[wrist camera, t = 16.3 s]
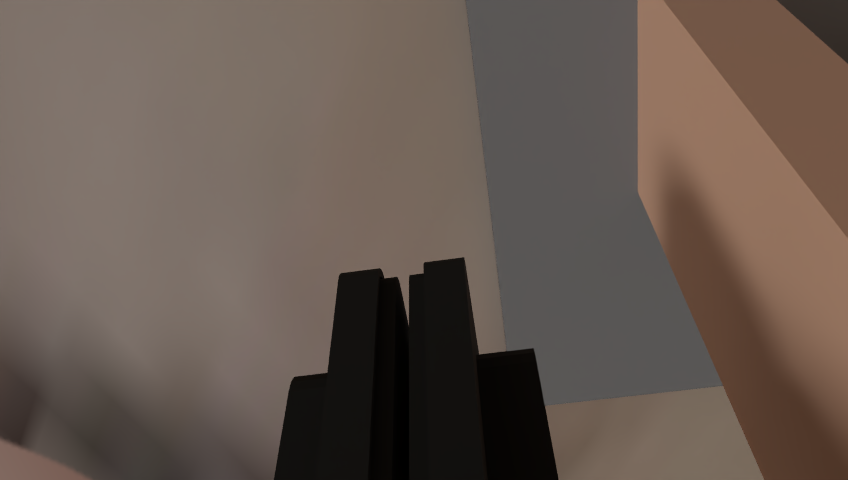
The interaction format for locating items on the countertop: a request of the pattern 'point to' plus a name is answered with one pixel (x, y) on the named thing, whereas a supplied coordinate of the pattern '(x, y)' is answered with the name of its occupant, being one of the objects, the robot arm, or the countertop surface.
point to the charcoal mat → (585, 196)
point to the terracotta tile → (754, 213)
